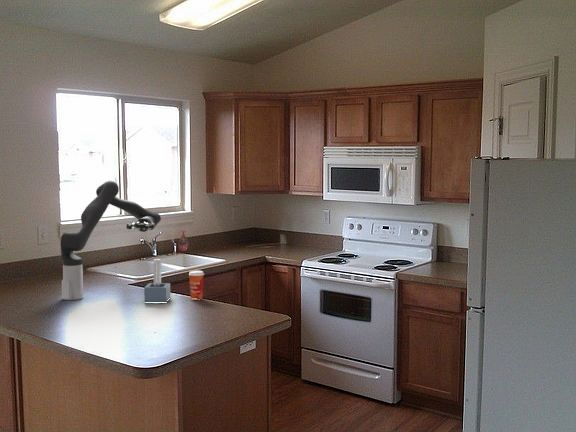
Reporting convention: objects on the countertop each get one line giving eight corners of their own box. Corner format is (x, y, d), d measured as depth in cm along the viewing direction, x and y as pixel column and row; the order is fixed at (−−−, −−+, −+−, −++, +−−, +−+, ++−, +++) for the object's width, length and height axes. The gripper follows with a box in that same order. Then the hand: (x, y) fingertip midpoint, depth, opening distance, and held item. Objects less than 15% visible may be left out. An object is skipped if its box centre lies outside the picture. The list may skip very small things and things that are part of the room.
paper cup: (185, 299, 314) (185, 272, 313) (194, 296, 321) (194, 269, 320) (198, 301, 310) (198, 273, 309) (207, 298, 317) (207, 271, 316)
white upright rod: (152, 300, 308) (151, 259, 306) (154, 298, 313) (153, 258, 311) (161, 300, 308) (160, 260, 306) (163, 298, 312) (162, 258, 311)
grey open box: (166, 303, 305) (166, 287, 304) (144, 303, 305) (144, 287, 304) (170, 299, 316) (170, 283, 315) (149, 298, 316) (149, 283, 315)
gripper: (131, 217, 345) (123, 220, 328) (157, 217, 344) (150, 220, 328) (132, 230, 345) (124, 234, 329) (158, 231, 345) (151, 234, 329)
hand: (137, 227), depth 329 cm, fingers open, 8 cm apart
